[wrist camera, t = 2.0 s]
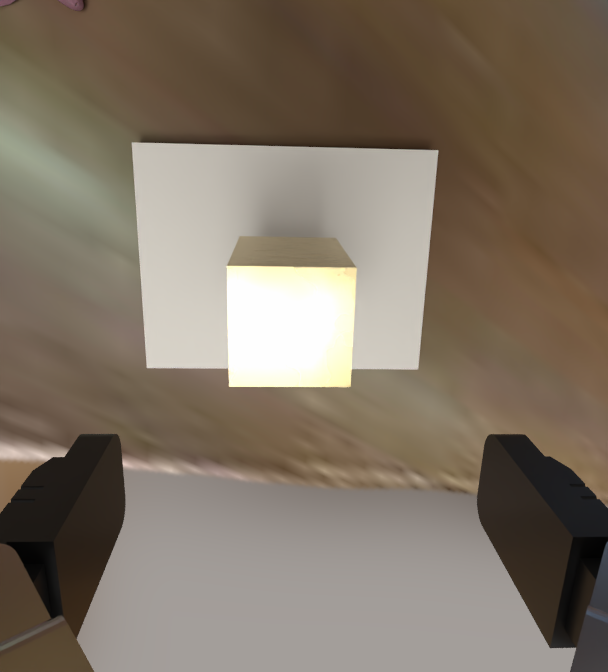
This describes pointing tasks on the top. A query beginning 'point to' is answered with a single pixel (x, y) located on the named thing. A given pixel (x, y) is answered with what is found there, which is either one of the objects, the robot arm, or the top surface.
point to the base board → (280, 221)
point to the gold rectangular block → (290, 312)
